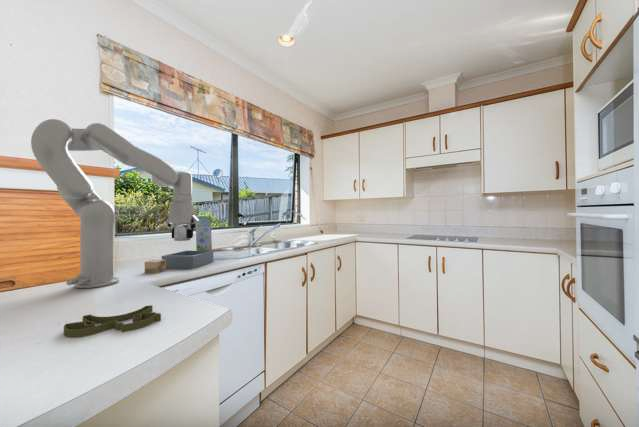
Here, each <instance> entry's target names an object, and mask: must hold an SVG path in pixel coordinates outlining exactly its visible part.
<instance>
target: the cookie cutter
mask: <svg viewBox="0 0 639 427" xmlns="http://www.w3.org/2000/svg"><path fill="white" fill-rule="evenodd" d="M129 320H132V322H130V323H129V322H128V323H124V322H126V321H129ZM160 321H162V314H161V313H159V312H155V311H153V305H152V304H151V305H144V306H143V307H142V308H139V309H136V310H134V311H131V312H128V313H122V314H118V315H112V316H96V315H92V314H87V315H83V316H82V321H76V322H70V323H65V324H64V326H63V336H64V337H65V338H70V339H76V338H77V339H78V338H84V337H88V336H93V335H96V334H99V333H102V332H105V331H108V330H111V329H114V330H115V331H121V333H126V332H131V331H135V330H140V329H143V328H146V327H148V326H150V325H153V324H154V323H155V322H160ZM96 324H97V325H96Z"/></svg>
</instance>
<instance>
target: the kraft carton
mask: <svg viewBox="0 0 639 427" xmlns="http://www.w3.org/2000/svg"><path fill="white" fill-rule="evenodd" d="M166 270H167V268H166V260H162V259H151V260H148V261H144V273H145V274H148V273H149V274H158V273H162V272H164V271H166Z"/></svg>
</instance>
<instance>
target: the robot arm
mask: <svg viewBox="0 0 639 427" xmlns="http://www.w3.org/2000/svg"><path fill="white" fill-rule="evenodd" d="M30 146H31V150H32V153H33V156H34V158H35V160H37V163H39V165H40V167H41V168H42V169H43V170H44V171H45V173H46V174H47V176H48V177H49V178H50V179H51V180H52V181H53V183H54V184H55V185H56V187H57V188H56V190H57V192H58V194H59V195H60V196H61V198H62V199H63V200H64V201H65V203H66V204H67V205H68V206H69V207H70V208H71V210H73V212H74V213H75V214H76V215H77V216H78V218H79V219H80V230H79V231H80V232H79V234H80V236H79V237H80V238H79V241H80V242H79V243H80V252H79V253H80V265H79V266H80V269H79V270H80V273H79V274H77V276H76V277H75V278H71V279H67V281H66V286H73V285H74V288H76V289H93V288H99V287H106V286H110V285H113V284H116V283H118V282H119V280H120V279H119V277H115V276H114V275H115V274H114V271H115V270H114V268H115V267H114V266H115V265H114V260H115V258H114V256H115V255H114V252H115V251H114V249H115V248H114V246H115V245H114V244H115V243H114V237H115V236H114V230H115V220H116V218H115V217H116V212H115V209H114V207H113V205H112V204H111V203H110V202H109V201H108V200H104V199H102V198H101V197H100V196H99V195H98V193H97V192H96V191H95V189H94V184H93V182H92V181H91V179H90V178H88V176H87V175H86V174H85V172H84V171H83V170H82V169H81V168H80V166H79V165H78V164H77V163H76V161H75V160H74V158H73V157H72V155H71V153H70V152H73V151H74V152H78V151H79V152H80V151H81V152H83V151H84V152H86V151H88V152H89V151H102V152H104V153H106V154H107V155H109V156H111V157H112V158H114V159H116V160H117V161H118V162H120V163H121V164H123V165H125V166H127V167H131V168H136V169H139V170H142V171H144V172H146V173H147V174H149V175H150V176H151V181H152V183H153V184H154V185H156V186H158V187H162V188H167V187H168V188H169V187H170V188H171V187H172V188H173V189H172V190H173V191H172V196H170V199H171V200H172V201H171V203H170V206H169V212H168V218H167V219H166V220H165V223H166V224H167V226H168V227H169V229H170V230H171V239H174V225H187V226H188V229H189V230H187V238H190V239H193V238H194V237H193V236H194V230H195V229H196V226H197V224H198V223H199V222H200V221H199V220H198V219H197V218H196V215H195V214H196V211H195V205H194V202H193V175H192V173H191V172H189V171H185V170H184V171H182V170H180V171H179V170H176V169H175V168H174V167H172V166H171V165H170V164H168V163H167V162H165V161H164V160H163V159H161V158H160V157H157V156H155V155H154V154H152V153H149V152H147V151H146V150H144V149H141V148H140V147H138V146H136V145H135V144H133V143H132V142H131V141H129V140H127V139H126V138H125V137H123V136H122V135H120V134H119V133H117V132H116V131H114V130H113V129H112V128H110V127H109V126H106V125H105V124H103V123H99V122H98V123H97V122H94V123H91V124H88V125H87V127H86V128H72V127H71V126H70V125H69V124H68V123H67V122H65V121H62V120H60V119H55V118H54V119H53V118H51V119H46V120H43V121H41V122H40V123H39V124H38V125H37V126H36V127H35V129H34V131H33V132H32V134H31V139H30Z"/></svg>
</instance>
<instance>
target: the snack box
mask: <svg viewBox="0 0 639 427" xmlns="http://www.w3.org/2000/svg"><path fill="white" fill-rule="evenodd" d="M195 217H196V218H197V219H198V220H199V221H200V222H199V223H198V224H197V226H196V227H195V245H196V246H195V248H196V249H195V251H213V249H212V248H213V247H212V246H213V244H212V216H211V215H208V214H207V215H205V214H203V215H195Z"/></svg>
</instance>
